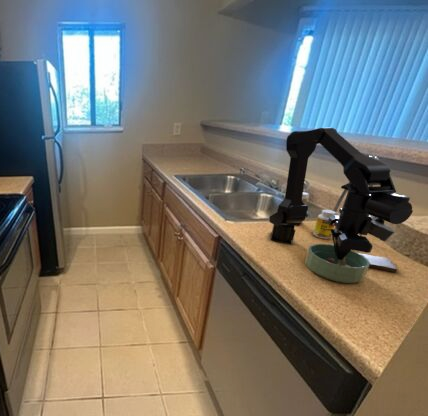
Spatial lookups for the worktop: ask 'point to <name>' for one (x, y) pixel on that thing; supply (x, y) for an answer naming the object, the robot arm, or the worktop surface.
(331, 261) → the bead
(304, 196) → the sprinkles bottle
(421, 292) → the worktop surface
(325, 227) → the supplement bottle
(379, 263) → the dark grey slate tile
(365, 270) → the bowl
